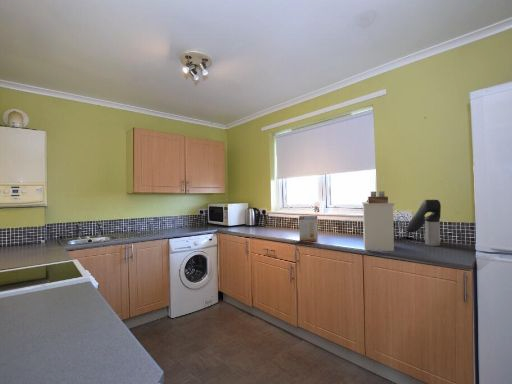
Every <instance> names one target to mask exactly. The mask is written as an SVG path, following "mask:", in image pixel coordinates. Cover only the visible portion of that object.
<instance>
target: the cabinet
mask: <svg viewBox="0 0 512 384" xmlns="http://www.w3.org/2000/svg"><path fill="white" fill-rule="evenodd" d="M361 204H362V213H363V214H362V220H363V221H362V223H363V224H362V225H363V229H362V230H363V247H364V250H365V251H382V252H385V251H386V252H395V240H394V239H395V235H394V234H395V232H394V231H395V230H394V229H395V228H394V224H393V222H394V206H395V203H394V202H391V201H388V203H368V202H366V201H362V203H361Z"/></svg>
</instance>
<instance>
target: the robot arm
mask: <svg viewBox="0 0 512 384" xmlns="http://www.w3.org/2000/svg"><path fill="white" fill-rule="evenodd" d="M365 202H368V199H367V200H366V201H365ZM441 207H442V206H441V202H440V200H439V199H425V200H423V201H422V203H421V204H420V206H419V208H418V209H417V211H416V212H415V214H414V215H413V216H412V217H411V219H410V220H409V222H408V225H407V226H408V228H407V231H408V232H414V231H417V230H418V231H419V230H420V229H421V228H422V227H423V226H424V244H425V245H427V246H432V247H433V246H434V247H436V246H438V247H439V246H440V245H441V234H440V233H441V232H440V231H441V229H440V227H441V225H440V224H441V222H440V220H441V213H442V212H441V211H442V210H441V209H442V208H441ZM427 213H430V215H427V216H426V214H427ZM394 222H395V221H393V224H394V227H395V223H396V222H395V223H394ZM418 231H417V232H418Z"/></svg>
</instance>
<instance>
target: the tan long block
mask: <svg viewBox="0 0 512 384" xmlns="http://www.w3.org/2000/svg"><path fill="white" fill-rule="evenodd" d="M385 195H386V194H385V191H382V190H381V191H380V190H379V191H378V196H377V191H370V196H367V200H368V203H388V202H389V197H388V196H385Z"/></svg>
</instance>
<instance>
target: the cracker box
mask: <svg viewBox="0 0 512 384" xmlns="http://www.w3.org/2000/svg"><path fill="white" fill-rule="evenodd" d="M298 218H299V219H298V220H299V221H298V222H299V224H298V227H299V228H298V229H299V241H303V242H318V241H319V238H318V237H319V234H318V233H319V231H318V230H319V229H318V215H310V214H309V215H303V214H302V215H299V216H298Z"/></svg>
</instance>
